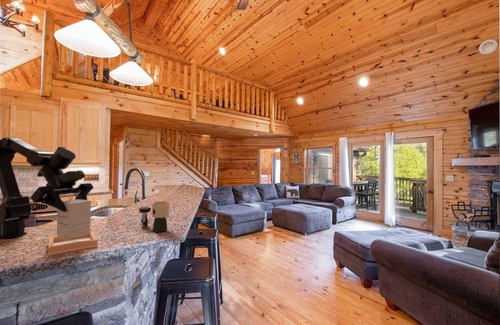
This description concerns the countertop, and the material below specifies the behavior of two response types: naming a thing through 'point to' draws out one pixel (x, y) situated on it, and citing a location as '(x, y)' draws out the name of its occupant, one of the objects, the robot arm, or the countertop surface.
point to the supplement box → (74, 219)
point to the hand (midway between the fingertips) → (76, 209)
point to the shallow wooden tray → (71, 243)
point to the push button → (144, 215)
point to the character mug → (160, 215)
